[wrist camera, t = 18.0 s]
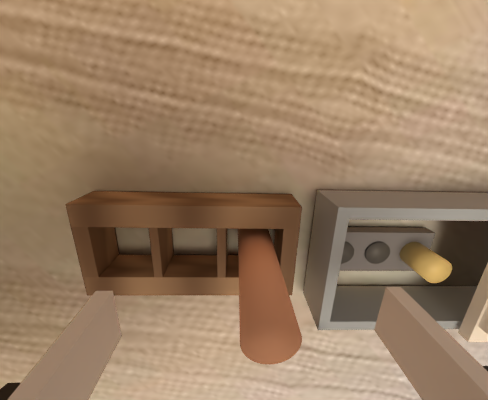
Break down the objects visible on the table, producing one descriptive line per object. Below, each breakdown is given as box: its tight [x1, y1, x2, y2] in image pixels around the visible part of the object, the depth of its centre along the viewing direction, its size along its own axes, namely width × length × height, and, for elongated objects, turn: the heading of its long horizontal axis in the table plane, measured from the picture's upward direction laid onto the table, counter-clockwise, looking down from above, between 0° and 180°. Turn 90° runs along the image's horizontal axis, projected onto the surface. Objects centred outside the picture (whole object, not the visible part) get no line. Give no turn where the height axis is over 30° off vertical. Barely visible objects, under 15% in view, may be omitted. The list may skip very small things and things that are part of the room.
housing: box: [303, 190, 488, 330], centre depth 18 cm, size 22×10×4 cm, turn 89°
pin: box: [238, 229, 302, 364], centre depth 14 cm, size 3×3×10 cm
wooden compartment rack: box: [66, 191, 302, 295], centre depth 17 cm, size 15×7×3 cm, turn 89°
